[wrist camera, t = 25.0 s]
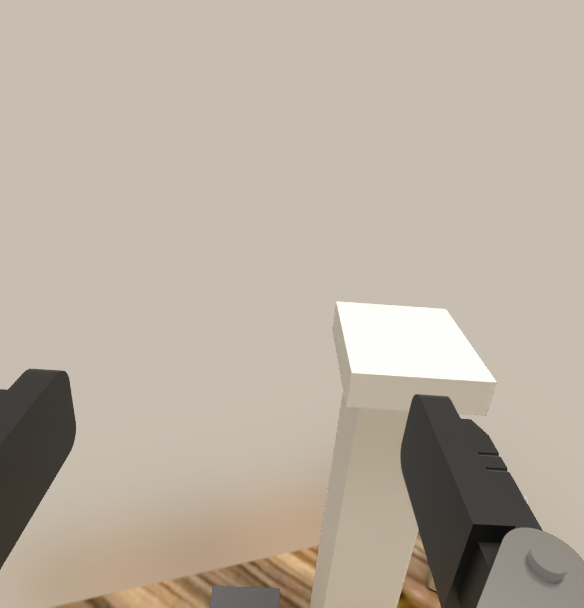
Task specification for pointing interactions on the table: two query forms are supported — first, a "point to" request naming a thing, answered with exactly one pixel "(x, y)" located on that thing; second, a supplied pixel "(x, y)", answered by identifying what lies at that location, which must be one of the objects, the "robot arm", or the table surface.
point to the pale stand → (384, 443)
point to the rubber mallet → (244, 597)
